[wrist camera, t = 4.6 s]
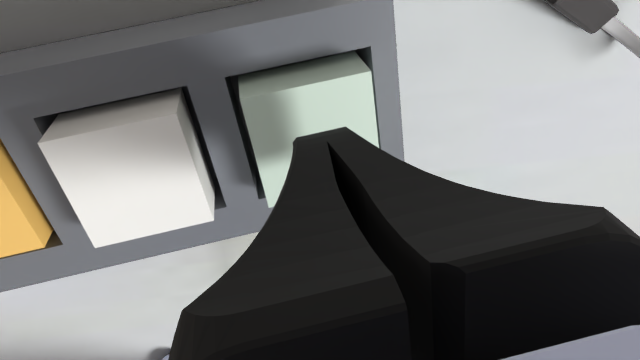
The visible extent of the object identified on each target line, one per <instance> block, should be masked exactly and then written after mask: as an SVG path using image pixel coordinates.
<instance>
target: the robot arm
mask: <svg viewBox="0 0 640 360" xmlns="http://www.w3.org/2000/svg"><path fill="white" fill-rule="evenodd" d="M162 360H640V237H639V236H638V235H637V234H636V233H634V232H633V231H632V230H631V229H630V228H628V227H627V226H626V225H625V224H624V223H622V222H621V221H620V220H619V219H618V218H616V217H615V216H614V215H613V214H612V213H610V212H609V211H608V210H606V209H605V208H604V207H595V206H584V205H572V204H561V203H550V202H542V201H535V200H529V199H523V198H517V197H511V196H506V195H501V194H496V193H492V192H488V191H484V190H480V189H476V188H472V187H468V186H465V185H462V184H458V183H455V182H452V181H449V180H446V179H444V178H441V177H438V176H435V175H433V174H430V173H428V172H425V171H423V170H420V169H418V168H416V167H414V166H412V165H410V164H408V163H406V162H404V161H402V160H400V159H398V158H396V157H394V156H392V155H390V154H389V153H387V152H385V151H383V150H382V149H380V148H378V147H377V146H375V145H373V144H372V143H370V142H368V141H367V140H365V139H364V138H362V137H361V136H359V135H358V134H356V133H355V132H353V131H352V130H350V129H349V128H347V127H341V128H337V129H332V130H328V131H323V132H319V133H314V134H310V135H305V136H301V137H296V139H295V140H294V141H293V153H292V158H291V163H290V167H289V170H288V173H287V177H286V180H285V183H284V185H283V188H282V190H281V192H280V195H279V197H278V199H277V202H276V204H275V206H274V208H273V210H272V212H271V214H270V215H269V217H268V219H267V221H266V222H265V224H264V226H263V227H262V229H261V230H260V232H259V233H258V235H257V236H256V238H255V239H254V240H253V242H252V243H251V245H250V246H249V247H248V249H247V250H246V251H245V252H244V254H243V255H242V256H241V257H240V258H239V259H238V260H237V262H236V263H235V264H234V265H233V266H232V267H231V268H230V269H229V270H228V271H227V272H226V273H225V274H224V275H223V276H222V277H221V278H220V279H219V280H218V281H216V282H215V283H214V284H213V285H212V286H211V287H209V288H208V289H207V290H206V291H205V292H204V293H202V294H201V295H200V296H199V297H198V298H197V299H195V300H194V301H193V302H192V303H191V304H189V305H188V306H187V307H185V308H184V309H183V310H182V312H181V315H180V318H179V322H178V325H177V328H176V332H175V335H174V339H173V343H172V347H171V350H170V354H169V355H167V356H165V357H164V358H163V359H162Z"/></svg>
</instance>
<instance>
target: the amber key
mask: <svg viewBox="0 0 640 360" xmlns="http://www.w3.org/2000/svg"><path fill="white" fill-rule="evenodd" d="M53 229H54V228H53V226H52V225H51V223H50V221H49V220H48V218H47V216H46V215H45V213H44V211H43V210H42V208H41V206H40V205H39V203H38V201H37V199H36V198H35V196H34V194H33V193H32V191H31V189H30V188H29V186H28V184H27V183H26V181H25V179H24V178H23V176H22V174H21V172H20V171H19V169H18V167H17V166H16V164H15V162H14V161H13V159H12V157H11V156H10V154H9V152H8V151H7V149H6V147H5V145H4V144H3V142H2V140H1V139H0V258H1V257H5V256H10V255H14V254H18V253H23V252H27V251H31V250H36V249H40V248H44V247H45V245H46V243H47V241H48V239H49V237H50V235H51V233H52V231H53Z"/></svg>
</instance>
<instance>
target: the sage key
mask: <svg viewBox="0 0 640 360" xmlns="http://www.w3.org/2000/svg"><path fill="white" fill-rule="evenodd" d="M238 84H239V97H240V102H241V106H242V110H243V114H244V117H245V121H246V125H247V128H248V132H249V136H250V140H251V143H252V147H253V151H254V155H255V158H256V162H257V166H258V169H259V173H260V177H261V181H262V184H263V188H264V192H265V195H266V199H267V203H268V207H269V208H271V207H274V206H275V204H276V202H277V199H278V197H279V195H280V192H281V190H282V188H283V185H284V183H285V180H286V177H287V173H288V170H289V167H290V163H291V158H292V153H293V141H294V140H295V139H296V137H301V136H305V135H310V134H314V133H319V132H323V131H328V130H332V129H337V128H341V127H347V128H349V129H350V130H352V131H353V132H355V133H356V134H358V135H359V136H361V137H362V138H364V139H365V140H367V141H368V142H370V143H372V144H373V145H375V146H377V147H378V148H379V143H378V133H377V123H376V113H375V104H374V94H373V84H372V74H371V70H370V69H369V68H368V67H367V65H366V64H365V63H364V62H363V61H362V59H361V58H360V57H359V56H358V54H357V53H356V52H355V51H352V52H347V53H342V54H338V55H333V56H328V57H324V58H319V59H314V60H310V61H305V62H300V63H296V64H291V65H286V66H282V67H277V68H272V69H267V70H263V71H258V72H253V73H249V74H244V75H239V76H238Z"/></svg>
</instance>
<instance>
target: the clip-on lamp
mask: <svg viewBox="0 0 640 360" xmlns="http://www.w3.org/2000/svg"><path fill="white" fill-rule="evenodd" d="M545 1H546V2H547V3H548V4H549V5H550V6H552V7H553V8H554V9H556V10H557V11H559V12H560V13H561V14H563V15H564V16H565V17H567V18H568V19H570V20H571V21H572V22H574V23H575V24H577V25H578V26H579V27H581V28H582V29H583V30H585V31H586V32H588V33H590V34H592V33H596V32H597V31H598V30H599V29H600V28H602V29H603V30H604V31H606V32H607V33H608V34H610V35H611V36H612V37H614V38H615V39H616V40H618V41H619V42H620V43H621V44H623V45H624V46H625V47H626V48H628V49H629V50H630V51H631V52H632V53H634V54H635V55H636V56H637V57H639V58H640V38H639V37H638V36H637V35H636V34H635V33H633V32H632V31H631V30H630V29H629V28H628V27H626V26H625V25H624V24H623V23H622V22H620V21H619V20H618V19H617V18H615V17H614V16H615V15H617V13H618V11H619V9H618V7H617V5H616V4H615V3H614V2H613V1H612V0H545Z"/></svg>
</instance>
